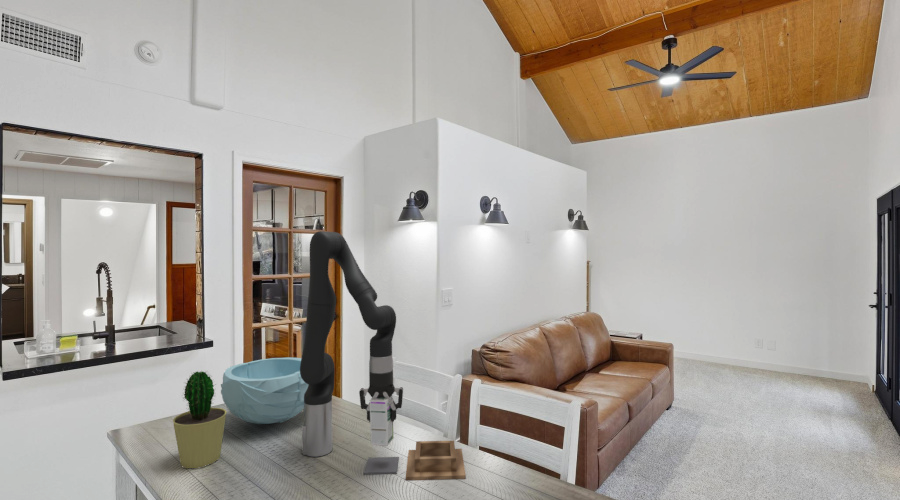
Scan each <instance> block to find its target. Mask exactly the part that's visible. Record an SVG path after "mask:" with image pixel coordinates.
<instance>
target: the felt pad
mask: <svg viewBox="0 0 900 500" xmlns="http://www.w3.org/2000/svg"><path fill="white" fill-rule="evenodd" d="M399 460H400V457H399V456H383V457H382V456H378V457H376V456H375V457H372V456H371V457H370V456H369V457H368V458H367V461H366V465H365V468H364V471H363V475H397V473H398V467H399V462H400V461H399Z"/></svg>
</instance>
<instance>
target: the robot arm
mask: <svg viewBox="0 0 900 500" xmlns="http://www.w3.org/2000/svg"><path fill="white" fill-rule="evenodd" d="M330 260H334V261H335V262H336V263H337V264H338V265H339V268H341V270H342V272H343V273H342V274H343V276H344V282H345V283H344V284H345V286H346V289H347V291H348V293H349V294H350V296H351V297H352V299H353V300H354V302H355V304H357V306H358V310H359V313H360V315H361V318H362V321H363V322H364V324H365V325H366V327H368V328H369V329H371V330H373V331H376V333H375V335H374V336H372V337H371V338H370V340H369V361H368V362H369V363H368V367H369V368H368V372H369V373H368V374H369V375H368V376H369V377H368V379H369V380H368V382H369V383H368V385H369V386H368V388H363V387H362V388H360V389H359V393H358V394H359V403H360V409H362V410H365V411H366V420H367V421H368V423H370V401H369V403H368V404H367V403H366V396H367V394H369V396H370V397H371V399H376V398H386V399H388V403H389V405H390V406H391V408H392V410H391V417H392V422H393V423H394V422H395V420H396V419H397V409H401V408H402V406H403V397H404V388H403V386H402V387H395V385H394V360H393V359H394V358H393V338H394V335H395V329H396V325H397V324H396V323H397V314H396V311H395V310H394V308H393V307H392V306H390V305H387V304H385V305H380V306H377V304H376V301H377V299H378V294H377V292H376V290H375V289H374V287H373V286H372V284H371V283H370V282H369V280H368V278H366V275H364V273H363V272H362V270H361V269H360V266H359V264H358V262H357V260H356V258H355V256H354V255H353V252H352V251H351V249H350V247H349V244H348V242H347V241H346V239H345V237H344V236H343V235H342V234H341V233H339V232H336V231H322V230H321V231H320V230H319V231H316V232H315V233H313V235H312V236H311V238H310V242H309V282H308V283H309V284H308V297H307V305H306V320H305V321H306V322H305V332H304V334H305V335H304V344H303V350H302V354H301V358H302V359H301V364H300V375H301V378H302V379H303V381H304V382H305V383H307V384H309V385H308V388H307V390H306V392H305V394H304V408H303V422H304V423H303V425H302V430H301V431H302V434H301V437H302V455H303V456H307V457H315V458H317V457H322V456H325V455H328V454H330V453H331V452H332V451H333V393H334V391H335V390H334V389H335V374H336V373H335V370H336V369H335V362H334V360H333V357H332V356H331V355H330V354H329V353H327V352H325V350H326V344H327V340H328V336H329V334H330V331H331V330H332V326H333V323H334V320H335V316H336V305H337V297H336V292H335V291H334V287H333V285H332V282H331V279H330V276H329V265H330V264H329V263H330ZM394 393H396V395H397V396H398V398H397V399H398V400H397V403H396V401H395V400H394V398H393V394H394ZM390 397H391V398H390Z"/></svg>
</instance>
